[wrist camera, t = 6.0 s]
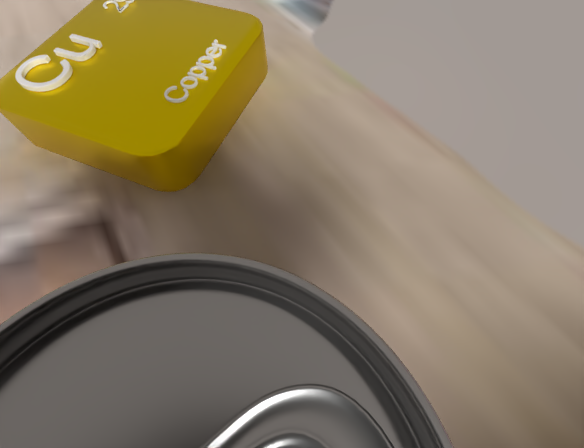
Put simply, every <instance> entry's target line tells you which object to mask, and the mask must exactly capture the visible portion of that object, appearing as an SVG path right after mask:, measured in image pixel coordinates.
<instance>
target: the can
mask: <svg viewBox="0 0 584 448" xmlns="http://www.w3.org/2000/svg"><path fill="white" fill-rule="evenodd" d="M0 448H454V447H453V445H452V443H451V440H450V438H449V436H448V434H447V432H446V430H445V428H444V427H443V425H442V423H441V421H440V419H439V417H438V415H437V414H436V412H435V410H434V409H433V407H432V405H431V403H430V402H429V400H428V399H427V397H426V395H425V394H424V392H423V391H422V389H421V387H420V386H419V385H418V383H417V382H416V380H415V379H414V377H413V376H412V375H411V373H410V372H409V371H408V369H407V368H406V367H405V365H404V364H403V363H402V361H401V360H400V359H399V358H398V356H397V355H396V354H395V353H394V352H393V350H392V349H391V348H390V347H389V346H388V345H387V344H386V343H385V341H384V340H383V339H382V338H381V337H380V336H379V335H378V334H377V333H376V332H375V331H374V330H373V329H372V328H371V327H370V326H369V325H368V324H367V323H366V322H364V321H363V320H362V319H361V318H360V317H359V316H358V315H356V314H355V313H354V312H353V311H352V310H350V309H349V308H348V307H347V306H345V305H344V304H343V303H341V302H340V301H339V300H337V299H336V298H334V297H333V296H332V295H330V294H328V293H327V292H325V291H324V290H322V289H321V288H319V287H317V286H315V285H314V284H312V283H310V282H308V281H306V280H304V279H302V278H300V277H298V276H296V275H294V274H292V273H289V272H287V271H285V270H282V269H280V268H277V267H274V266H271V265H268V264H265V263H262V262H258V261H254V260H250V259H246V258H241V257H236V256H229V255H222V254H211V253H178V254H166V255H159V256H152V257H146V258H141V259H137V260H132V261H128V262H124V263H121V264H117V265H114V266H111V267H107V268H105V269H102V270H99V271H96V272H93V273H91V274H88V275H86V276H83V277H81V278H79V279H77V280H74V281H72V282H70V283H68V284H66V285H64V286H62V287H60V288H58V289H56V290H54V291H52V292H50V293H49V294H47V295H45V296H43V297H42V298H40V299H38V300H36V301H35V302H33V303H32V304H30V305H28V306H27V307H25V308H24V309H22V310H21V311H19V312H18V313H16V314H15V315H13V316H12V317H10V318H9V319H8V320H6V321H5V322H3V323H2V324H1V325H0Z"/></svg>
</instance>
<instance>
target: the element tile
mask: <svg viewBox="0 0 584 448" xmlns="http://www.w3.org/2000/svg"><path fill="white" fill-rule="evenodd" d="M267 68H268V66H267V58H266V49H265V41H264V32H263V25H262V23H261V21H260V20H259V19H258V18H257V17H255V16H253V15H251V14H248V13H245V12H241V11H236V10H231V9H227V8H222V7H218V6H213V5H208V4H204V3H199V2H194V1H190V0H93V1H92V2H91V3H90V4H89V5H87V6H86V7H85V8H84V9H83V10H82V11H80V12H79V13H78V14H77V15H76V16H74V17H73V18H72V19H71V20H70V21H69V22H67V23H66V24H65V25H64V26H63V27H61V28H60V29H59V30H58V31H57V32H56V33H54V34H53V35H52V36H51V37H50V38H48V39H47V40H46V41H45V42H44V43H42V44H41V45H40V46H39V47H38V48H37V49H35V50H34V51H33V52H32V53H31V54H29V55H28V56H27V57H26V58H25V59H24V60H22V61H21V62H20V63H19V64H18V65H16V66H15V67H14V68H13V69H12V70H11V71H9V72H8V73H7V74H6V75H5V76H3V77H2V78H1V79H0V112H1V113H2V114H3V115H4V116H5V117H6V118H7V119H8V120H9V121H10V122H11V123H12V124H13V125H14V126H15V127H16V128H17V129H18V130H19V131H21V132H22V133H23V134H24V135H25V136H26V137H27V138H28V139H29V140H30V141H31V142H32V143H33V144H34V145H36V146H38V147H41V148H43V149H46V150H49V151H52V152H54V153H57V154H60V155H62V156H65V157H68V158H71V159H73V160H76V161H79V162H81V163H84V164H87V165H90V166H92V167H95V168H98V169H100V170H103V171H106V172H109V173H111V174H114V175H117V176H119V177H122V178H125V179H128V180H130V181H133V182H136V183H138V184H141V185H144V186H147V187H149V188H152V189H155V190H158V191H164V192H169V191H178V190H181V189H184V188H186V187H187V186H189V185H190V184H191V183H193V182H194V181H195V180H196V179H197V178H198V177H199V176H200V174H201V173H202V171H203V170H204V168H205V167H206V165H207V164H208V162H209V161H210V159H211V158H212V156H213V155H214V153H215V152H216V150H217V149H218V147H219V146H220V145H221V143H222V142H223V140H224V139H225V137H226V136H227V134H228V133H229V131H230V130H231V128H232V127H233V125H234V124H235V122H236V121H237V119H238V118H239V116H240V115H241V113H242V112H243V110H244V109H245V107H246V106H247V104H248V103H249V101H250V100H251V98H252V97H253V95H254V94H255V92H256V91H257V89H258V88H259V86H260V85H261V83H262V82H263V80H264V79H265V77H266V75H267Z"/></svg>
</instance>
